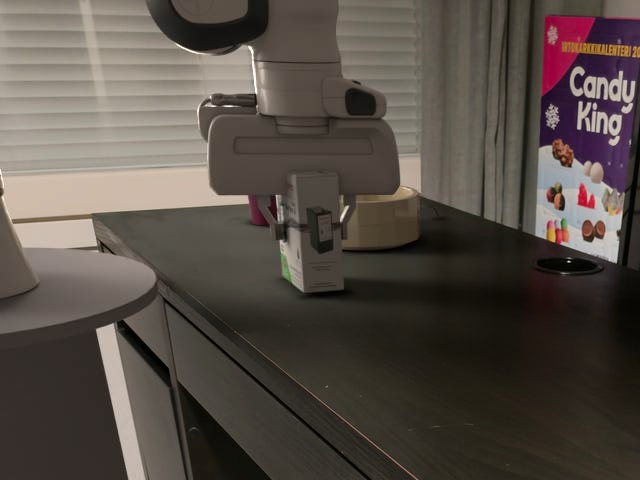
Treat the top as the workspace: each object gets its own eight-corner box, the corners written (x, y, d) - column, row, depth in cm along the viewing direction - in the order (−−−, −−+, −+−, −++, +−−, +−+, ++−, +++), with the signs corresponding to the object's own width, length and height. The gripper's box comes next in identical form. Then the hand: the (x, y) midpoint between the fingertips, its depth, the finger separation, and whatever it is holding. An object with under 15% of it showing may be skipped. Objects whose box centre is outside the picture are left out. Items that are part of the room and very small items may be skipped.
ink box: (280, 276, 106) (270, 162, 100) (321, 273, 108) (314, 161, 102) (303, 294, 100) (293, 174, 94) (346, 290, 102) (340, 172, 95)
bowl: (308, 254, 118) (304, 203, 114) (301, 230, 130) (297, 183, 127) (428, 250, 121) (427, 201, 117) (410, 227, 133) (408, 181, 130)
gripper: (193, 95, 89) (212, 246, 97) (401, 98, 93) (403, 243, 101) (195, 90, 94) (213, 234, 102) (393, 93, 98) (396, 232, 106)
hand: (309, 239), depth 102 cm, fingers closed on ink box, 5 cm apart
